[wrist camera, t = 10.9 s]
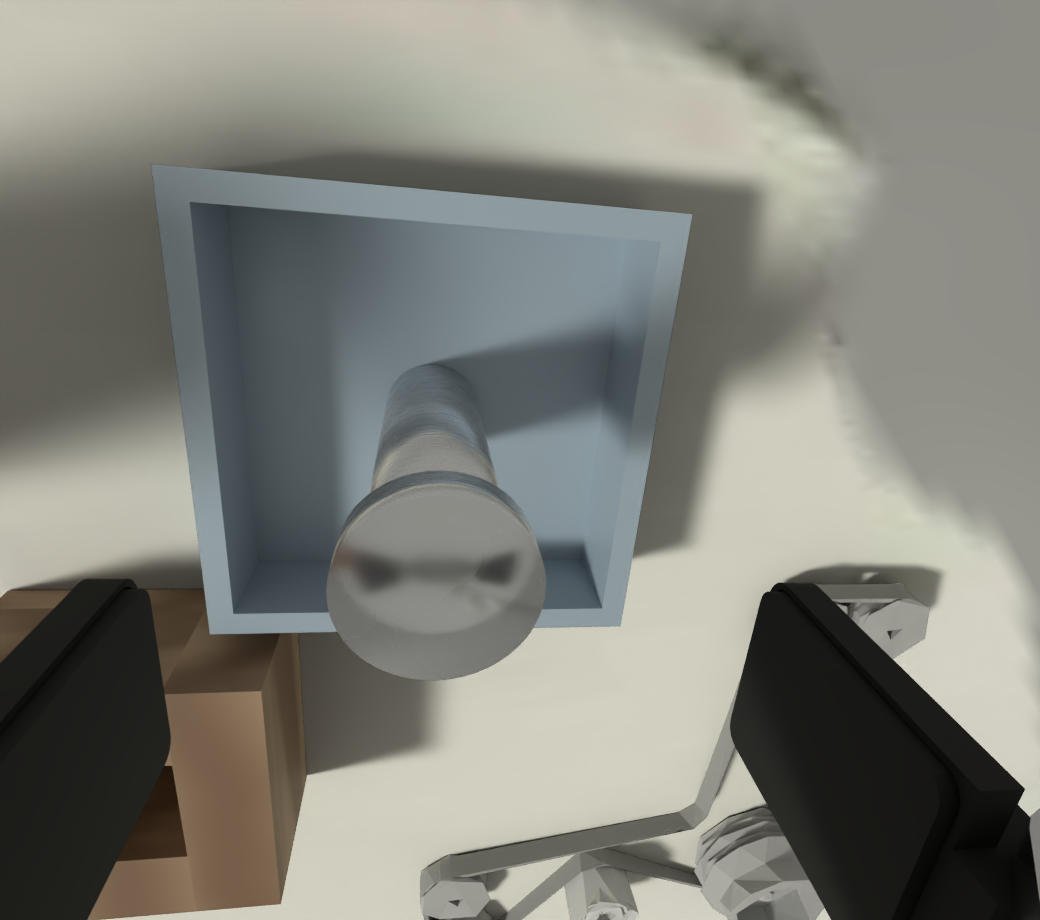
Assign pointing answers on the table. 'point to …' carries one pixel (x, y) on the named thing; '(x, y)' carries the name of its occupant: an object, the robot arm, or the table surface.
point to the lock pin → (434, 543)
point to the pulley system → (677, 828)
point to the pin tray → (397, 348)
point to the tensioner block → (206, 763)
